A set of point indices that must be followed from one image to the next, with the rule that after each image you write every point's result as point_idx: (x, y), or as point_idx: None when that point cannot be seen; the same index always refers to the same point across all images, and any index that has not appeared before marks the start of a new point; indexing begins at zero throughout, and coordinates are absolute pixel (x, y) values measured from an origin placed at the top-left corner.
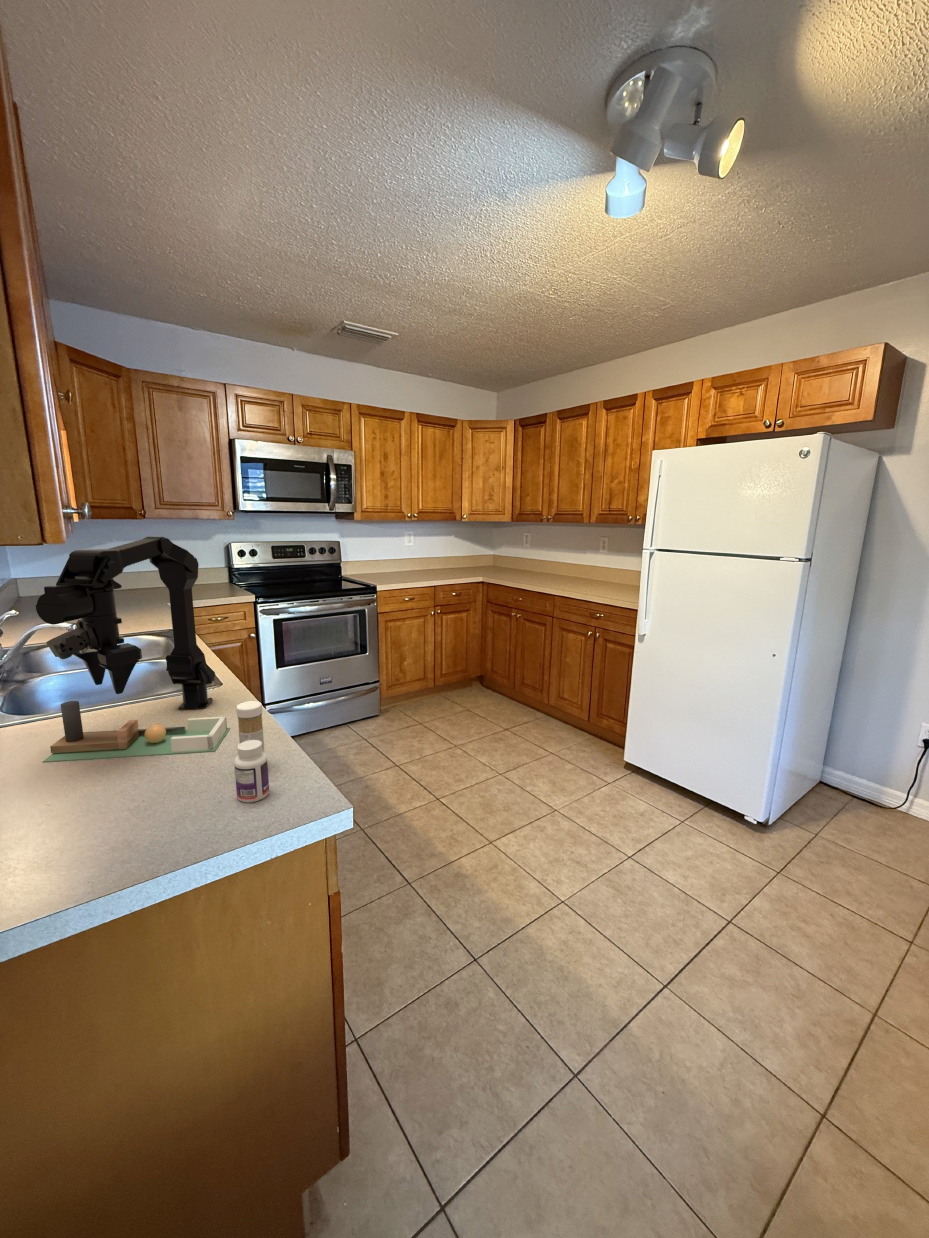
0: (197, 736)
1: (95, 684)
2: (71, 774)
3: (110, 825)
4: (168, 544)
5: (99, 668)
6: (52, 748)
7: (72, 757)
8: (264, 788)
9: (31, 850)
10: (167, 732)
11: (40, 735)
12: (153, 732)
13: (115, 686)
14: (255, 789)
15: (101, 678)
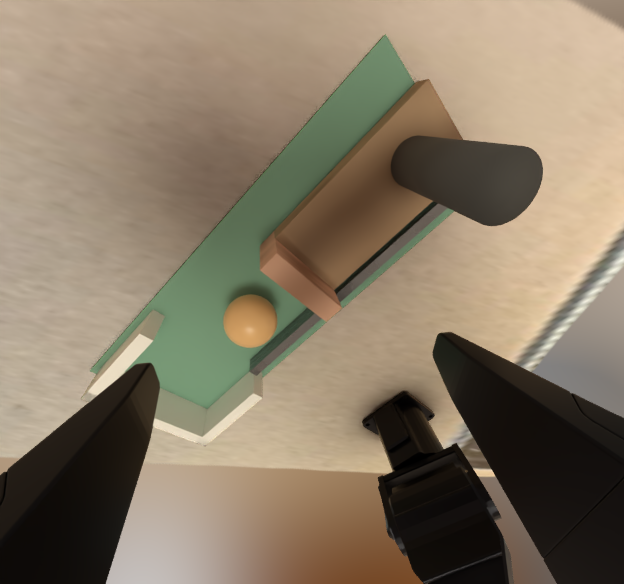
0: (107, 378)
1: (447, 332)
2: (202, 60)
3: None
4: None
5: (508, 446)
6: (419, 85)
7: (333, 119)
8: None
9: None
10: (276, 340)
11: (585, 126)
12: (228, 320)
13: (81, 412)
14: None
15: (450, 382)
